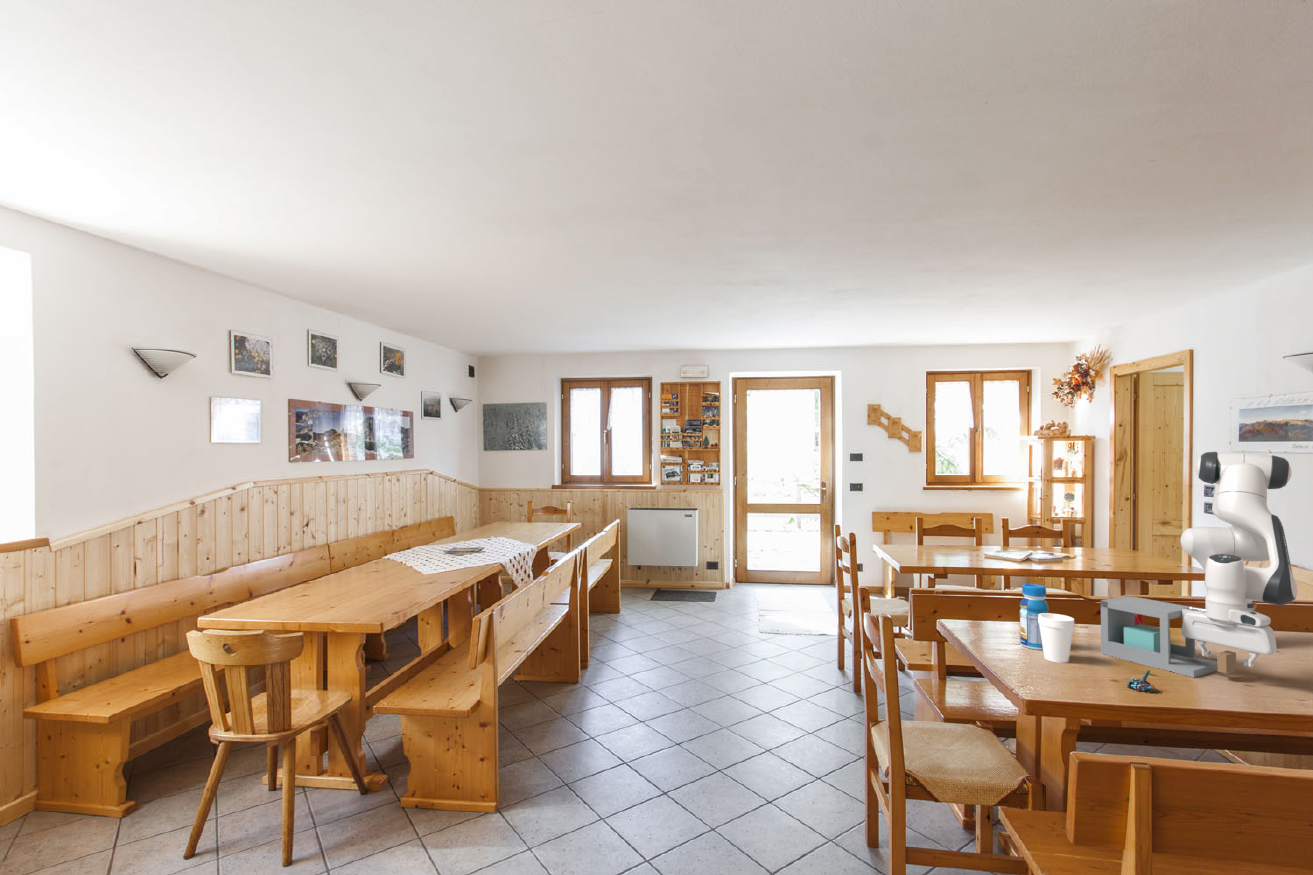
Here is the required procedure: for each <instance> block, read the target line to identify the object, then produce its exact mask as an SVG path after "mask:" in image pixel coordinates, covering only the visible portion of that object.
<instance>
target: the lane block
mask: <svg viewBox="0 0 1313 875" xmlns="http://www.w3.org/2000/svg"><path fill="white" fill-rule="evenodd" d="M1124 644H1125V645H1129V646H1133V647H1137V648H1142V649H1146V650H1150V651H1154V652H1158V653H1160V627H1157V626H1152V625H1147V624H1144V625H1143V624H1138V625H1133V626H1129V627H1124ZM1170 657H1173V658H1177V659H1182V660H1186V661H1190V662H1194V663H1198V664H1202V665H1206V666H1211V667H1215V668H1217V671H1216V672H1220V673H1222V674H1223V673H1224V674H1229V673H1233V672H1236V671H1237V652H1234V651H1230V650H1225V651H1221V652H1217V653H1216V659H1217V661H1216V662H1217V664H1213V663H1208V662H1204V661H1200V660H1196V659H1192V658H1187V657H1183V656H1179V655H1175V654H1171V645H1170Z"/></svg>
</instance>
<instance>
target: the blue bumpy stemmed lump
mask: <svg viewBox="0 0 1313 875" xmlns="http://www.w3.org/2000/svg"><path fill="white" fill-rule="evenodd" d="M1150 673H1151V670H1146V671H1144V673H1143V676H1142V678H1141V679H1140V678H1139V679H1137V678H1136V679H1135V678H1134V677H1131V678H1130V681H1127V688H1128V689H1130V690H1132V689H1133V691H1135V690H1136V692H1137V693H1141V692H1145V693H1144V694H1149V692H1150V693H1153V692H1155V693H1157V692H1162V690H1161V691H1160V690H1159V689H1156V686H1154V684H1151V683H1150V682H1149V681H1147V678H1148V676H1149V675H1150Z"/></svg>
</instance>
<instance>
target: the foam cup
mask: <svg viewBox="0 0 1313 875" xmlns="http://www.w3.org/2000/svg"><path fill="white" fill-rule="evenodd" d="M1038 623H1039V627H1040V633H1041V640H1042V646H1043V650H1042V651H1043V657H1044V659H1045V660H1047V661H1050V662H1054V663H1061V664H1063V663H1064V664H1065V663H1069V659H1070V653H1071V646H1072V639H1073V633H1074V628H1075V618H1073V617H1072V616H1069V615H1065V614H1059V613H1050V612H1048V613H1042V614H1039V615H1038Z"/></svg>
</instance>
